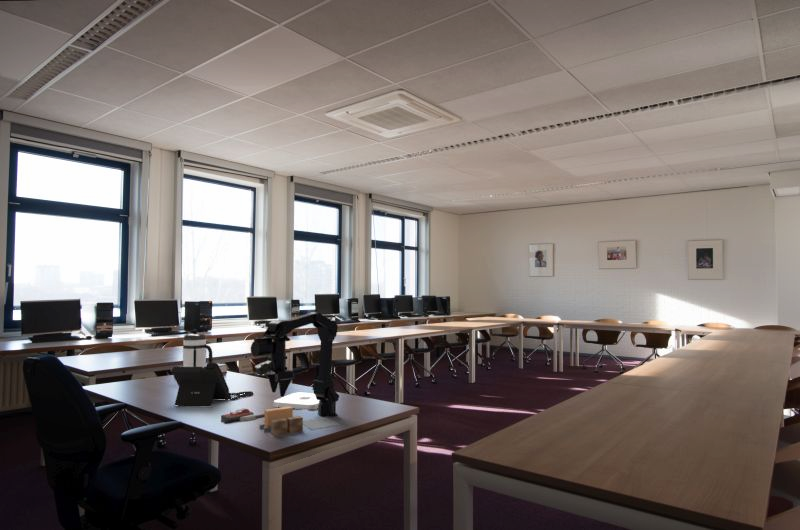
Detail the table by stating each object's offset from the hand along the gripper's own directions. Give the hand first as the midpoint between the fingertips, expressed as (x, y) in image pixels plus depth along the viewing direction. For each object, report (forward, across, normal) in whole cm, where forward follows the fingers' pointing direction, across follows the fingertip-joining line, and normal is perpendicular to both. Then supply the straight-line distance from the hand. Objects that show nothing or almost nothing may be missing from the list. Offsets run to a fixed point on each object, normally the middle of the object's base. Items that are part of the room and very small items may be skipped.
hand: (277, 394), depth 189 cm
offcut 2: (+12, +9, +3) cm, 16 cm away
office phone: (+13, -64, -8) cm, 66 cm away
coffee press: (+13, -119, -6) cm, 120 cm away
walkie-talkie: (+13, -20, -6) cm, 25 cm away
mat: (+13, +4, +15) cm, 20 cm away
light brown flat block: (+12, 0, 0) cm, 12 cm away
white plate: (+14, -33, +24) cm, 43 cm away
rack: (+13, +4, 0) cm, 13 cm away
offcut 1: (+12, +9, -3) cm, 16 cm away
